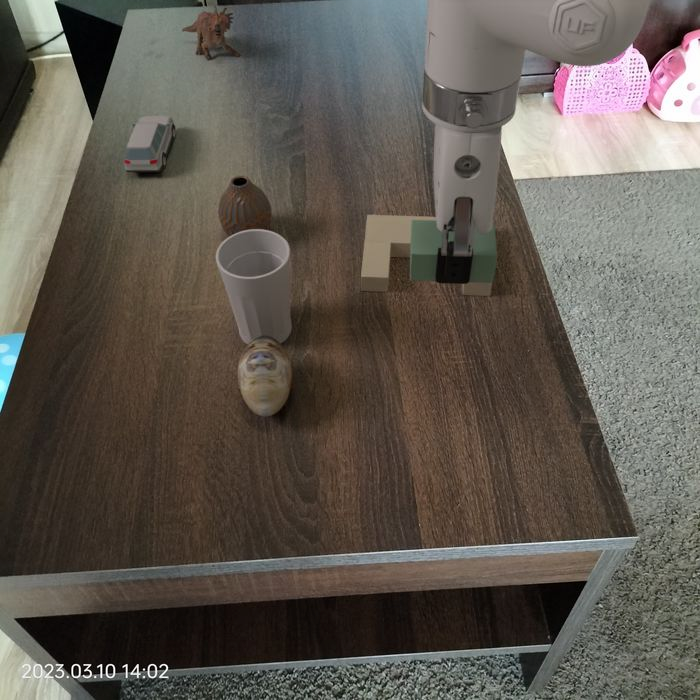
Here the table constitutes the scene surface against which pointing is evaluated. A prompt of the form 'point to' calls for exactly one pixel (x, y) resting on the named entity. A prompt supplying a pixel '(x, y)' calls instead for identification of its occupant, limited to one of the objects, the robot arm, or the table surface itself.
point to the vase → (244, 207)
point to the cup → (257, 282)
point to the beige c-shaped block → (395, 252)
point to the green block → (430, 239)
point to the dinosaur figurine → (212, 31)
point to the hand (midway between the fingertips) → (451, 259)
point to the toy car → (149, 144)
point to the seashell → (264, 375)
